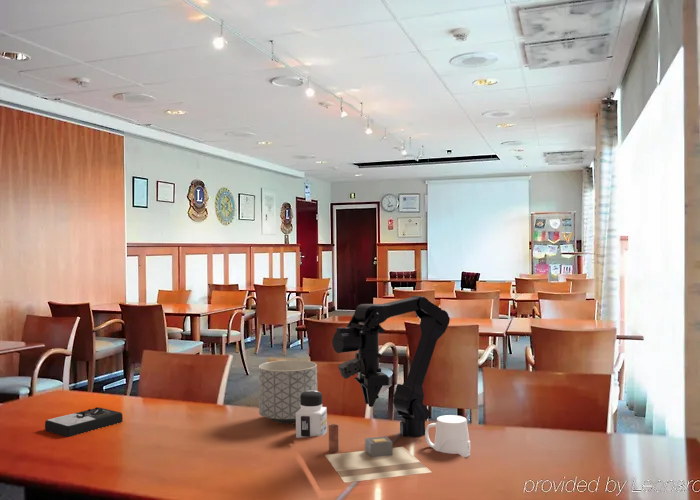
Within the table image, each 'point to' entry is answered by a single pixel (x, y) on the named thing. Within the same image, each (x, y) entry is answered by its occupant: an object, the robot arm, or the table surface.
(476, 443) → the table surface
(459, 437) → the mug
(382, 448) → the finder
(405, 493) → the table surface
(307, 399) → the container
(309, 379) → the planter
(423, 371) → the robot arm
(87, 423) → the multimeter
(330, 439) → the brown cylinder
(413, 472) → the board
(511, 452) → the table surface
